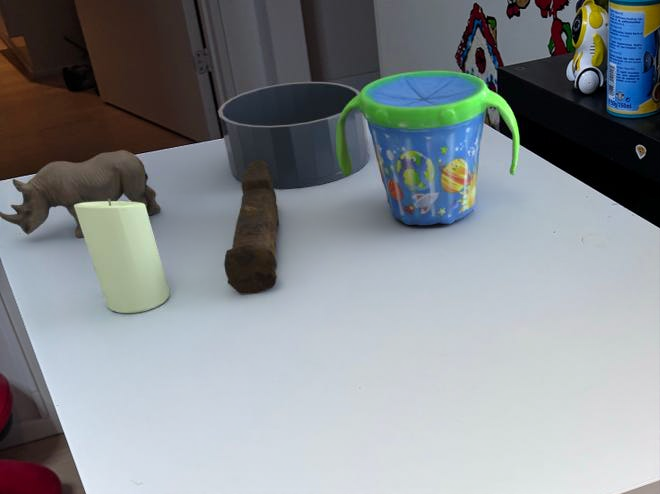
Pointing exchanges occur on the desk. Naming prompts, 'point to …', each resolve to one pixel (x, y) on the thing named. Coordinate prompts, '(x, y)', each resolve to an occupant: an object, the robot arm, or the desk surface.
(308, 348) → the desk surface
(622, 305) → the desk surface
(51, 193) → the rhino figurine
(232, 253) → the brown rough bar
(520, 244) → the desk surface
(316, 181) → the tin
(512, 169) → the snack cup
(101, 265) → the candle
